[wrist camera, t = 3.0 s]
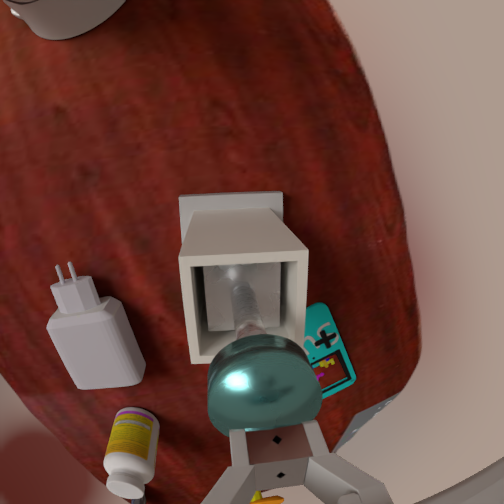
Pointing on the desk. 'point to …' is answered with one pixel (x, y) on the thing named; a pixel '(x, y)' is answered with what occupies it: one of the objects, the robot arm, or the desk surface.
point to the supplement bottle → (131, 452)
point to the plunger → (255, 353)
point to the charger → (93, 335)
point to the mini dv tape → (139, 500)
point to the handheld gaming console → (325, 345)
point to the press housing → (238, 260)
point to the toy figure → (265, 499)
